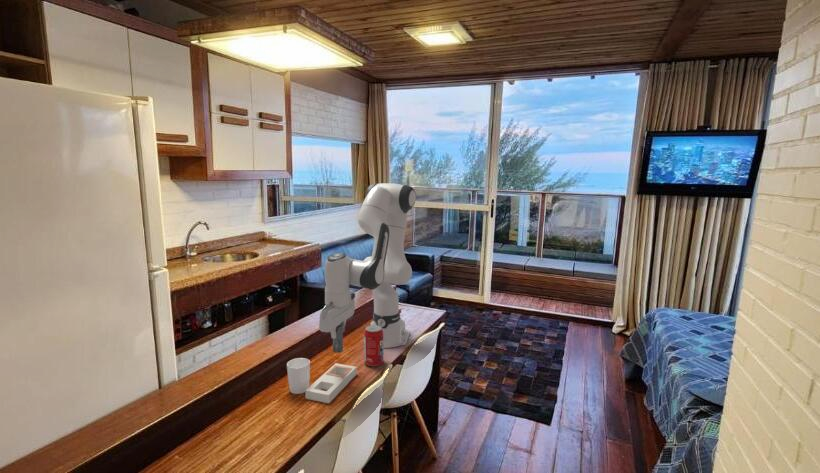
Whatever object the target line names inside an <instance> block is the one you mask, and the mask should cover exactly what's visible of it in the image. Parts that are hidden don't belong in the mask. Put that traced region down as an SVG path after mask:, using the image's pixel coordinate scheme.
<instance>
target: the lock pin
mask: <svg viewBox="0 0 820 473" xmlns="http://www.w3.org/2000/svg"><path fill="white" fill-rule="evenodd" d="M343 324H344V321H343V322H342V323H340V325H338V326H337V327H336V330H335V331H336V332H337V337H336V338H335V339H334V338H332V352H333V353H336V354H338V353H339V354H340V353H342V352H343V351H344V334H343V333H344V332H343Z"/></svg>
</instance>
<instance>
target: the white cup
mask: <svg viewBox="0 0 820 473" xmlns="http://www.w3.org/2000/svg"><path fill="white" fill-rule="evenodd" d="M286 370H287V381H288V385H289V386H288V387H289V392H290V393H291V394H293V395H301V394H304V393H305V390H306V389H308V388H309V387H310V379H311V378H310V377H311V376H310V375H311V361H310V359H308V358H305V357H297V358H293V359H291V360H289V361H287V362H286Z"/></svg>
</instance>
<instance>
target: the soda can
mask: <svg viewBox="0 0 820 473" xmlns="http://www.w3.org/2000/svg"><path fill="white" fill-rule="evenodd" d="M384 349H385V348H384V346H383V330H382V327H380V326H378V325H371V324H370V325H368V326H366V327H365V329H364V331H363V362H364V364H365V365H366V366H370V367H378V366H380V365H382V364H383V363H384V358H385V357H384V355H385V354H384Z"/></svg>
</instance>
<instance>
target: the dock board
mask: <svg viewBox="0 0 820 473" xmlns="http://www.w3.org/2000/svg"><path fill="white" fill-rule="evenodd" d="M357 370H358V368H357V366H354V365H347V364H343V363H342V364H341V363H337V362H335V363H334V365H332V366H331V367H330V368H329V369H328V370H327V371H325V372H324V373H323V374H322V375H320V376H319V378H317V379H316V380H315V381H313V383H312V384H311V385H309V388H308V389H306V390H305V399H306V400H311V401H316V402H321V403H325V404H330V403H331V402H332V401H333V400H334V399H335V398H336V397H337V396H338V394H339V393H341V392H342V390H343V389H345V387H346V386H347V385H348V384H349V383H350V382H351V381H352V380H353V379H354V378H355V377H356V376H357V373H358V371H357Z"/></svg>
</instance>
